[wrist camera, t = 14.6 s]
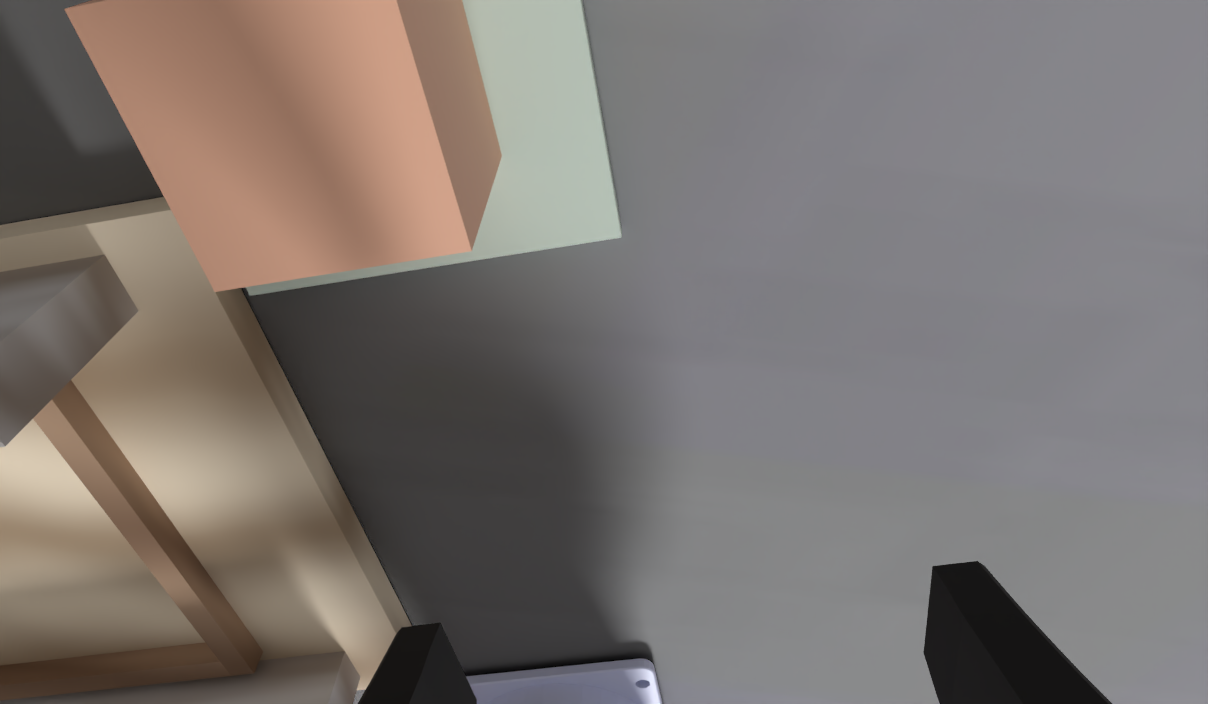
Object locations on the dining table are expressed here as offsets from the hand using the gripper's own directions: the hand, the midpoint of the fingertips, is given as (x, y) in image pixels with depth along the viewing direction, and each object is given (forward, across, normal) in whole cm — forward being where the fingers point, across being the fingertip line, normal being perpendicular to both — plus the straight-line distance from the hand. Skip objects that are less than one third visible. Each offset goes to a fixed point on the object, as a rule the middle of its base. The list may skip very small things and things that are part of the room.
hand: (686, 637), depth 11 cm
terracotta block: (+9, +5, -7) cm, 12 cm away
